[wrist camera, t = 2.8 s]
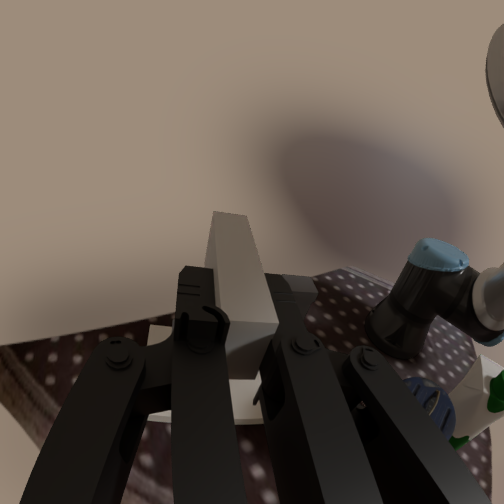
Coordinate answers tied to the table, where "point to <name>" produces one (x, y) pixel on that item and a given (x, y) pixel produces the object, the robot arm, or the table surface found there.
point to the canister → (434, 403)
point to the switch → (302, 291)
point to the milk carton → (477, 400)
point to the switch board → (239, 389)
